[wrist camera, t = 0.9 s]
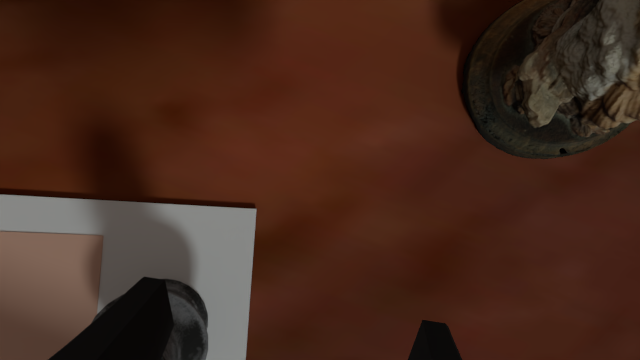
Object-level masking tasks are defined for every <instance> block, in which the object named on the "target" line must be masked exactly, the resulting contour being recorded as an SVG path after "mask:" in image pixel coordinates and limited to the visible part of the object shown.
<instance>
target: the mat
mask: <svg viewBox="0 0 640 360" xmlns="http://www.w3.org/2000/svg"><path fill="white" fill-rule="evenodd" d="M255 222H256V209H250V208H233V207H215V206H198V205H180V204H163V203H145V202H127V201H110V200H92V199H75V198H57V197H39V196H22V195H4V194H0V360H48V359H49V358H50V357H52V356H53V355H54V354H55V353H57V352H58V351H59V350H60V349H62V348H63V347H64V346H65V345H67V344H68V343H69V342H70V341H71V340H72V339H74V338H75V337H76V336H77V335H78V334H79V333H81V332H82V331H83V330H84V329H85V328H86V327H88V326H89V325H90V324H91V323H92V321H93V319H94V317H95V316H96V315H97V314H98V313H99V312H100V311H101V310H102V309H103V308H104V307H105V306H106V305H107V304H108V303H110V302H111V301H113V300H114V299H116V298H118V297H119V296H121V295H123V294H125V293H126V292H127V291H128V290H129V289H130V288H131V287H132V286H134V285H135V284H136V283H137V282H138V281H139V280H140V279H141V278H143V277H150V278H157V279H172V280H177V281H180V282H182V283H184V284H186V285H189V286H190V287H191V288H192V289H194V290H195V291H196V292H197V293H198V294H199V295H200V297H201V299H202V300H203V302H204V303H205V307H206V310H207V313H208V328H207V333H208V353H207V357H206V360H246V347H247V333H248V319H249V305H250V291H251V277H252V263H253V249H254V236H255Z"/></svg>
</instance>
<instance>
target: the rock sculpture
mask: <svg viewBox="0 0 640 360" xmlns="http://www.w3.org/2000/svg"><path fill="white" fill-rule="evenodd" d="M464 68H465V69H464V72H463V73H464V82H463V88H462V93H464V99H465V101H466V105H467V108H468V110H469V112H470V115H471V117H472V119H473V120H474V123H475V124H476V126H477V129H478V132H479V133H480V134H481V135H482V136H483V138H484V139H485V140H486V141H487V142H489V143H490V144H492V145H494V146H495V147H496V148H498V149H500V150H503V151H504V152H506V153H508V154H511V155H515V156H520V157H524V158H535V159H536V158H541V159H548V158H556V157H560V156H561V157H563V156H569V155H573V154H577V153H580V152H584V151H587V150H589V149H592V148H594V147H595V146H598V145H601V144H603V143H604V142H606V141H608V140H609V139H611V138H612V137H614V136H616V135H617V134H619V133H620V132H621V131H622V130H624V129H625V128H626V127H627V126H628V125H629V124H630V123H631V122H633V121H635V120H639V121H640V0H523V1H521V2H519V3H518V4H516V5H514V6H513V7H512V8H510V9H509V10H507V11H506V12H504V13H503V14H502V15H501V16H500V17H499V18H497V19H496V20H495V21H494V22H492V23H491V24H490V25H489V26H488V27H487V29H486V30H485V31H484V32H483V33H482V34H481V36H480V38H478V41H476V44H475V45H473V48H472V51H471V52H470V54H468V57H467V60H466V63H465V65H464ZM561 148H564V149H565V150H566V152H567V153H565V154H560V151H559V150H560V149H561Z"/></svg>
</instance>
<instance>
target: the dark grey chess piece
mask: <svg viewBox="0 0 640 360" xmlns="http://www.w3.org/2000/svg"><path fill="white" fill-rule="evenodd" d="M163 280H165V282H166V287H167V291H168V296H169V301H170V306H171V311H172V316H173V321H174V327H173V330H172V332H171V335H170V338H169V340H168V343H167V346H166V348H165V351H164V353H163V356H162V358H161V360H206V357H207V353H208V333H207V328H208V313H207V310H206V307H205V303H204V302H203V300H202V299H201V297H200V295H199V294H198V293H197V292H196V291H195V290H194V289H192V288H191V287H190V286H189V285H186V284H184V283H182V282H180V281H177V280H172V279H163ZM123 295H124V294H123ZM123 295H121V296H123ZM121 296H119V297H118V298H116V299H114V300H113V301H111V302H110V303H108V304H107V305H106V306H105V307H104V308H103V309H102V310H101V311H100V312H99V313H98V314H97V315H96V316H95V317H94V319H93V321H95V320H96V319H97V318H98V317H99V316H100V315H101V314H103V313H104V312H105V311H106V310H107V309H108V308H109V307H110V306H112V305H113V304H114V303H115V302H116V301H117V300H118V299H119V298H120V297H121ZM93 321H92V322H93Z"/></svg>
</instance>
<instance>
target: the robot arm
mask: <svg viewBox="0 0 640 360" xmlns="http://www.w3.org/2000/svg"><path fill="white" fill-rule="evenodd" d="M173 327H174V321H173V316H172V311H171V306H170V301H169V296H168V291H167V287H166V282H165V280H163V279H157V278H150V277H143V278H141V279H140V280H139V281H138V282H137V283H136V284H135V285H134V286H132V287H131V288H130V289H129V290H128V291H127V292H126V293H125V294H124V295H123V296H121V297H120V298H119V299H118V300H117V301H116V302H115V303H114V304H113V305H112V306H110V307H109V308H108V309H107V310H106V311H105V312H104V313H103V314H101V315H100V316H99V317H98V318H97V319H96V320H95V321H93V322H92V323H91V324H90V325H89V326H88V327H86V328H85V329H84V330H83V331H82V332H81V333H79V334H78V335H77V336H76V337H75V338H74V339H72V340H71V341H70V342H69V343H68V344H67V345H65V346H64V347H63V348H62V349H60V350H59V351H58V352H57V353H55V354H54V355H53V356H52V357H50V358H49V359H48V360H161V358H162V356H163V353H164V351H165V348H166V346H167V343H168V340H169V338H170V335H171V332H172V330H173ZM408 360H462V358H461V356H460V354H459V351H458V349H457V347H456V345H455V342H454V340H453V337H452V335H451V333H450V330H449V328H448V326H447V325H446V324H445V323H439V322H432V321H426V320H422V323H421V326H420V328H419V331H418V334H417V337H416V339H415V342H414V345H413V347H412V350H411V353H410V355H409V358H408Z"/></svg>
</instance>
